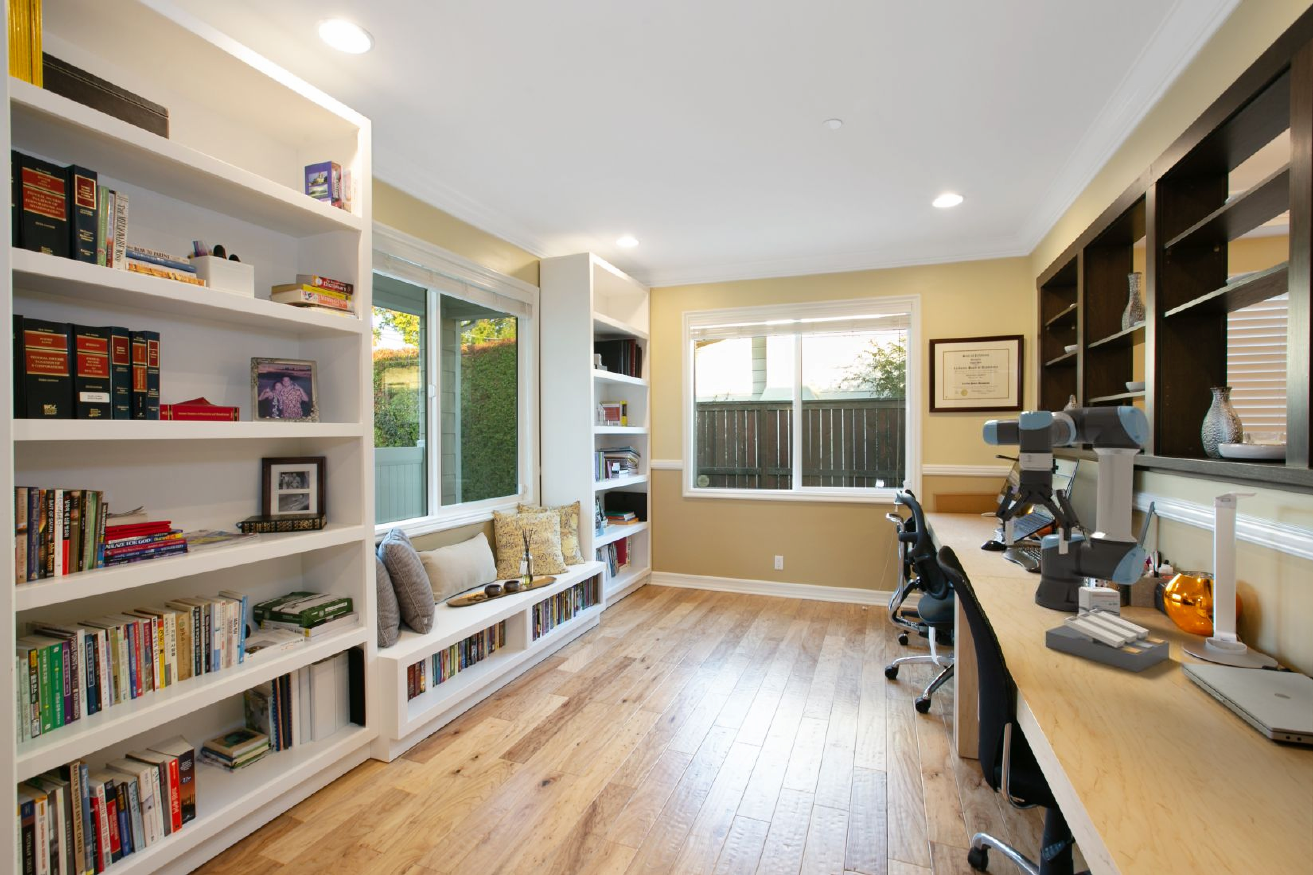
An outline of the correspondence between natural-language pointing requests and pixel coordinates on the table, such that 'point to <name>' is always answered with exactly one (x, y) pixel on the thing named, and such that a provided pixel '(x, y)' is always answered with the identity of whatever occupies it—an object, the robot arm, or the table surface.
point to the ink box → (1099, 600)
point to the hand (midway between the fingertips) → (1035, 548)
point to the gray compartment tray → (1109, 649)
